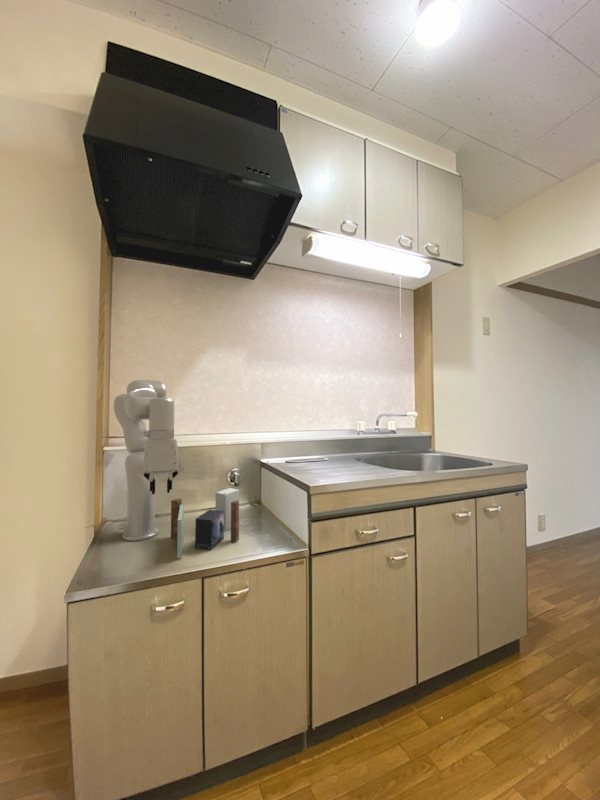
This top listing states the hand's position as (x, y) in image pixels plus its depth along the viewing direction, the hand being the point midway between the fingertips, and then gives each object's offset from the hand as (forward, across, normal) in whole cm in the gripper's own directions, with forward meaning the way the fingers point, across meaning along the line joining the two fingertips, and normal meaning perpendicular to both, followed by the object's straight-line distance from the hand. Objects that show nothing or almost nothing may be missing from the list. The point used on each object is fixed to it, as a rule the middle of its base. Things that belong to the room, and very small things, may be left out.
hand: (161, 492), depth 106 cm
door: (+21, +5, +7) cm, 23 cm away
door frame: (+21, +14, +12) cm, 28 cm away
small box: (+22, +16, +7) cm, 28 cm away
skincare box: (+21, +24, +22) cm, 39 cm away
